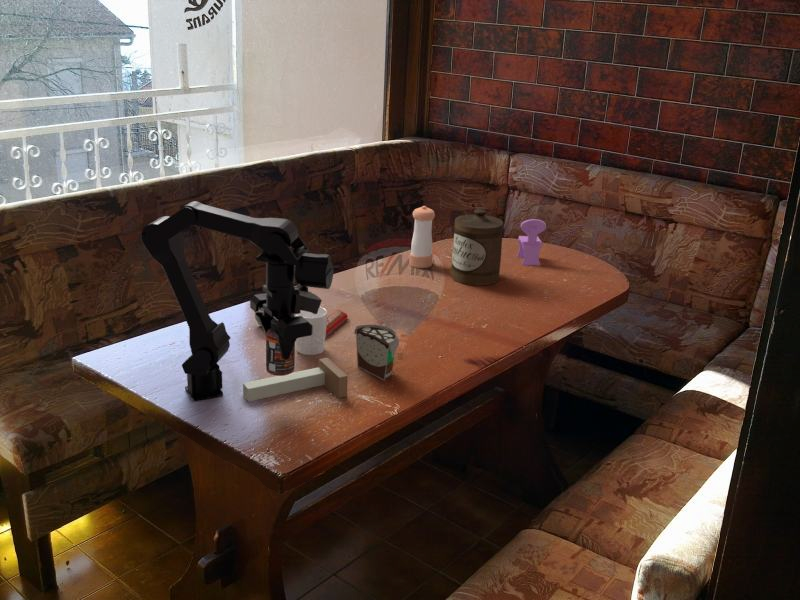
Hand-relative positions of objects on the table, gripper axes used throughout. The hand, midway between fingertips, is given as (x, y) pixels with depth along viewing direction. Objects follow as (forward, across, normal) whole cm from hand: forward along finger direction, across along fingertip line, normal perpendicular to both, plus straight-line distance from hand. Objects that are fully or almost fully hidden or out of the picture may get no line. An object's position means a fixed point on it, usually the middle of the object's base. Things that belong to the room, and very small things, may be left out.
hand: (280, 352), depth 174 cm
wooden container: (+12, +48, -85) cm, 98 cm away
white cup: (+12, +21, -17) cm, 30 cm away
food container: (+12, +4, -27) cm, 30 cm away
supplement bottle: (+4, 0, 0) cm, 4 cm away
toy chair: (+12, +54, -111) cm, 124 cm away
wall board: (+12, +1, -4) cm, 12 cm away
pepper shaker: (+12, +64, -76) cm, 100 cm away
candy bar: (+12, +31, -28) cm, 43 cm away
